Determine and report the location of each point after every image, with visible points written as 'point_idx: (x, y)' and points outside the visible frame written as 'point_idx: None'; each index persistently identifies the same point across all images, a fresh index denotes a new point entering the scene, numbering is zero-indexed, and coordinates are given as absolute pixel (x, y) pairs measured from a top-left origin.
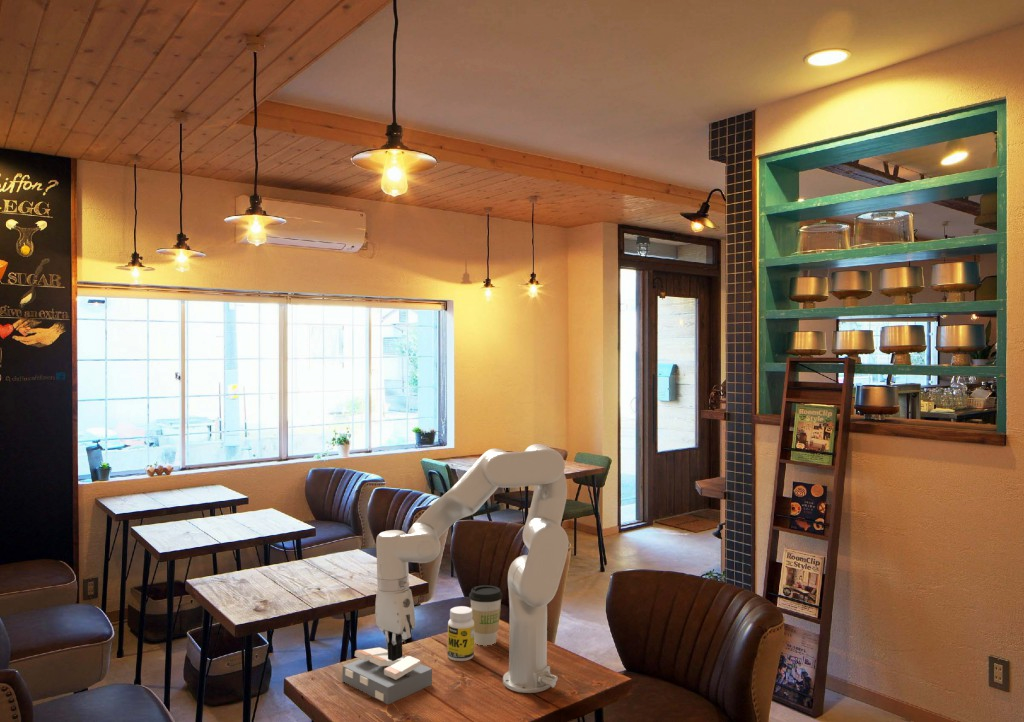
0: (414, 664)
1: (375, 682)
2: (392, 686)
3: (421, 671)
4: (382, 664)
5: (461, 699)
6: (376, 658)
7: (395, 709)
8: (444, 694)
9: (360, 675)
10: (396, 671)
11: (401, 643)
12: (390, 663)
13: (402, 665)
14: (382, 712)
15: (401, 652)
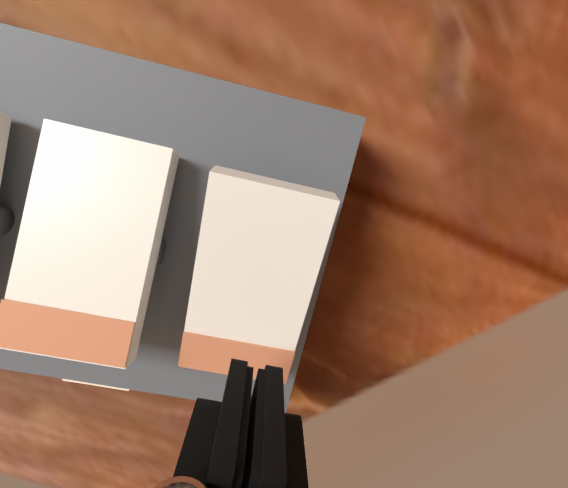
0: (323, 253)
1: (189, 395)
2: (291, 388)
3: (328, 184)
4: (135, 347)
5: (534, 184)
6: (64, 358)
7: (330, 378)
8: (445, 181)
9: (63, 378)
10: (270, 364)
11: (283, 462)
12: (149, 281)
13: (257, 295)
14: (301, 415)
15: (302, 429)
